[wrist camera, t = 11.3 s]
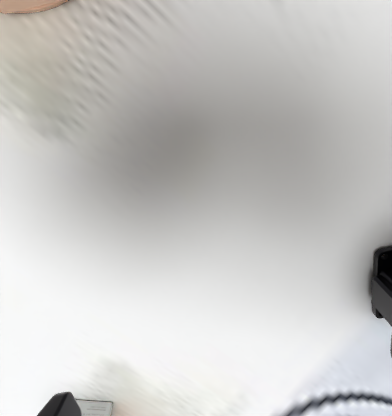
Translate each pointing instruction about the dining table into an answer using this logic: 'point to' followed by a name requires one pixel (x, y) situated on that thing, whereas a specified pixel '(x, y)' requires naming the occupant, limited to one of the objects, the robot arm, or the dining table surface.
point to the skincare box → (95, 408)
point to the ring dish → (28, 5)
